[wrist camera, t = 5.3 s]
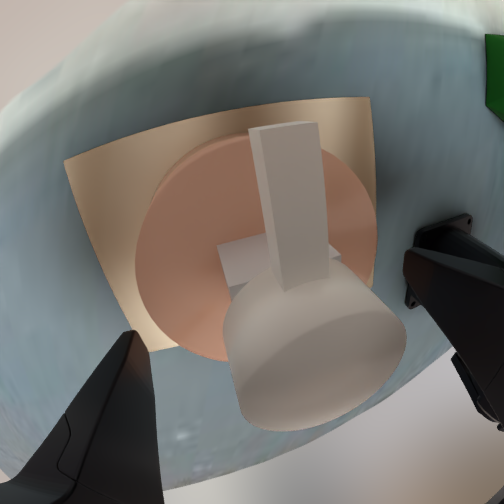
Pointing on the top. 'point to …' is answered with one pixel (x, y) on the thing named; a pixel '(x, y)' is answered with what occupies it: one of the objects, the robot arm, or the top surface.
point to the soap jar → (229, 238)
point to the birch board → (166, 155)
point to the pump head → (304, 302)
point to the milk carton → (495, 74)
